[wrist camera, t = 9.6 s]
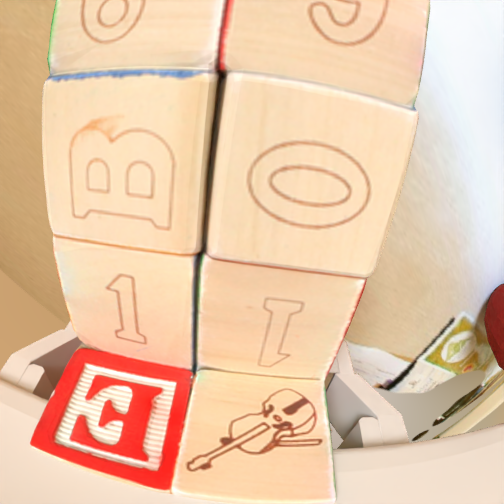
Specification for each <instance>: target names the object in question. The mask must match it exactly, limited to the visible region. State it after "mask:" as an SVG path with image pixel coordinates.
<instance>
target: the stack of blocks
mask: <svg viewBox="0 0 504 504" xmlns="http://www.w3.org/2000/svg"><path fill="white" fill-rule="evenodd" d="M429 14H430V0H56V4H55V9H54V14H53V19H52V25H51V33H50V44H49V51H48V58H47V59H48V65H49V71H50V76H49V77H48V78H47V80H46V81H45V82H44V87H43V94H42V150H43V167H44V179H45V189H46V199H47V209H48V217H49V222H50V227H51V229H52V231H53V233H54V235H53V254H54V257H55V261H56V266H57V271H58V276H59V280H60V284H61V289H62V292H63V296H64V299H65V303H66V306H67V310H68V313H69V316H70V320H71V323H72V326H73V330H74V331H75V333H76V335H77V336H78V338H79V339H80V340H81V341H82V344H81V345H80V346H79V347H78V349H77V350H76V351H75V352H74V354H73V355H72V357H71V359H70V360H69V362H68V364H67V365H66V367H65V369H64V372H63V374H62V376H61V378H60V380H59V382H58V384H57V386H56V388H55V390H54V391H53V393H52V394H51V396H50V399H49V401H48V403H47V405H46V407H45V409H44V411H43V413H42V416H41V418H40V420H39V422H38V424H37V426H36V428H35V430H34V433H33V435H32V438H31V441H30V445H31V447H32V448H33V449H34V450H36V451H38V452H40V453H43V454H45V455H47V456H49V457H51V458H54V459H56V460H58V461H61V462H63V463H66V464H68V465H71V466H73V467H76V468H78V469H81V470H84V471H86V472H89V473H92V474H95V475H98V476H101V477H104V478H108V479H111V480H114V481H118V482H121V483H124V484H127V485H131V486H135V487H138V488H142V489H147V490H151V491H155V492H160V493H167V494H173V495H178V496H183V497H189V498H195V499H201V500H208V501H215V502H223V503H232V504H334V503H335V502H336V500H337V494H336V482H335V470H334V460H333V450H332V441H331V430H330V421H329V412H328V403H327V396H326V389H325V383H324V381H325V379H326V377H327V375H328V373H329V371H330V369H331V367H332V365H333V363H334V360H335V358H336V356H337V354H338V351H339V349H340V347H341V344H342V342H343V340H344V337H345V335H346V333H347V330H348V328H349V326H350V323H351V321H352V318H353V316H354V313H355V311H356V309H357V306H358V304H359V301H360V298H361V296H362V293H363V291H364V287H365V284H366V280H367V278H368V277H370V276H371V275H372V274H373V273H374V271H375V269H376V267H377V264H378V261H379V258H380V256H381V253H382V250H383V247H384V244H385V241H386V238H387V235H388V232H389V229H390V226H391V223H392V220H393V216H394V213H395V210H396V207H397V203H398V200H399V197H400V193H401V189H402V186H403V182H404V179H405V175H406V171H407V167H408V163H409V159H410V155H411V151H412V147H413V142H414V138H415V134H416V129H417V124H418V120H419V116H418V112H417V111H416V109H415V107H414V104H415V101H416V98H417V94H418V90H419V85H420V81H421V76H422V69H423V63H424V56H425V48H426V37H427V29H428V21H429Z"/></svg>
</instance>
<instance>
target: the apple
mask: <svg viewBox="0 0 504 504" xmlns="http://www.w3.org/2000/svg"><path fill="white" fill-rule="evenodd" d="M484 321H485V327H486V332H487V338H488V342H489V344H490V346H491V349H492V351H493V353H494V356H495V358H496V360H497V363H498V365H499V367H501V368H502V369H503V370H504V284H501V285H500V286H498V287H497V288H496V289H495V290H494V292H493V293H492V295H491V297H490V299H489V302H488V306H487V309H486V313H485V318H484Z"/></svg>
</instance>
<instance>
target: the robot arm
mask: <svg viewBox="0 0 504 504" xmlns="http://www.w3.org/2000/svg"><path fill="white" fill-rule="evenodd" d="M81 344H82V341H81V340H80V339H79V338H78V336H77V335H76V333H75V331H74V330H73V326H72V323H71V321H70V322H69V324H68V325H67V327H66V328H65V330H59V331H57V332H55V333H53V334H51V335H49V336H47V337H45V338H43V339H41V340H39V341H37V342H35V343H33V344H31V345H29V346H27V347H25V348H23V349H21V350H19V351H17V352H15V353H13V354H12V355H11V356H10V358H9V359H8V361H7V362H6V364H5V365H4V367H3V368H2V370H1V371H0V504H232V503H223V502H215V501H208V500H201V499H195V498H189V497H183V496H178V495H173V494H167V493H160V492H155V491H151V490H147V489H142V488H138V487H135V486H131V485H127V484H124V483H121V482H118V481H114V480H111V479H108V478H104V477H101V476H98V475H95V474H92V473H89V472H86V471H84V470H81V469H78V468H76V467H73V466H71V465H68V464H66V463H63V462H61V461H58V460H56V459H54V458H51V457H49V456H47V455H45V454H43V453H40V452H38V451H36V450H34V449H33V448H32V447H31V445H30V441H31V438H32V435H33V433H34V430H35V428H36V426H37V424H38V422H39V420H40V418H41V416H42V413H43V411H44V409H45V407H46V405H47V403H48V401H49V399H50V396H51V394H52V393H53V391H54V390H55V388H56V386H57V384H58V382H59V380H60V378H61V376H62V374H63V372H64V369H65V367H66V365H67V364H68V362H69V360H70V359H71V357H72V355H73V354H74V352H75V351H76V350H77V349H78V347H79V346H80V345H81ZM324 383H325V389H326V396H327V403H328V412H329V421H330V423H331V424H332V426H333V427H334V428H335V430H336V431H337V432H338V434H339V435H340V436H341V438H342V439H343V440H344V441H343V442H342V444H341V445H340V446H339V447H338V448H337V449H332V450H333V460H334V470H335V482H336V494H337V500H336V502H335V503H334V504H504V423H502V424H498V425H495V426H491V427H487V428H484V429H480V430H476V431H472V432H467V433H463V434H458V435H454V436H449V437H443V438H438V439H432V440H426V441H420V442H413V443H409V439H408V436H407V432H406V428H405V425H404V422H403V418H402V415H401V414H400V413H399V412H398V411H397V410H396V409H395V408H394V407H393V406H392V405H391V404H390V403H388V402H387V401H386V400H385V399H384V398H383V397H382V396H381V395H380V394H379V393H378V392H377V391H376V390H375V389H374V388H373V387H372V386H370V385H369V384H368V383H367V382H366V381H365V380H364V379H363V378H362V377H361V376H360V375H359V374H355V373H354V369H353V366H352V362H351V358H350V354H349V350H348V347H347V343H346V341H345V340H343V342H342V344H341V347H340V349H339V351H338V354H337V356H336V358H335V360H334V363H333V365H332V367H331V369H330V371H329V373H328V375H327V377H326V379H325V381H324Z"/></svg>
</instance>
